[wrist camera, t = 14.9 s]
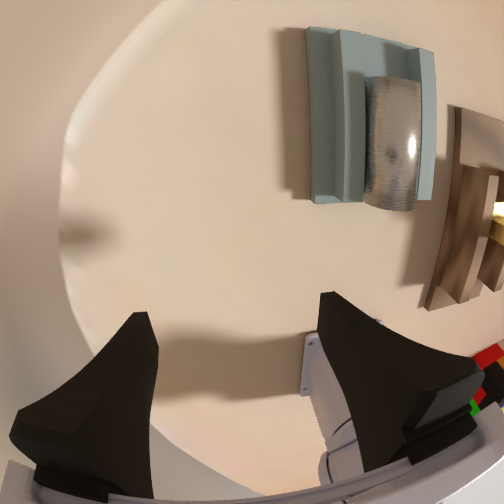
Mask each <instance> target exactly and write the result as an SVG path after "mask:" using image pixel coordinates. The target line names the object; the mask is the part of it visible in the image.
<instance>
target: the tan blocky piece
mask: <svg viewBox="0 0 504 504" xmlns="http://www.w3.org/2000/svg"><path fill="white" fill-rule="evenodd" d="M489 237H491V238H492V239H494V240H495V241H497V242H498V243H500V244H501V245H503V246H504V199H503V198H500V197H498V196H496V201H495V207H494V212H493V217H492V222H491V227H490V231H489Z"/></svg>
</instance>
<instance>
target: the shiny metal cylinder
mask: <svg viewBox="0 0 504 504" xmlns="http://www.w3.org/2000/svg"><path fill="white" fill-rule="evenodd" d="M365 105H366V148H365V177H364V194H363V200H364V202H365V203H367V204H369V205H371V206H374V207H377V208H381V209H385V210H392V211H409V210H412V209H414V208H415V202H416V193H417V184H418V173H419V159H420V139H421V90H420V83H418V82H416V81H413V80H408V79H403V78H397V77H386V76H372V77H366V78H365Z"/></svg>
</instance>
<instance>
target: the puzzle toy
mask: <svg viewBox="0 0 504 504" xmlns="http://www.w3.org/2000/svg"><path fill="white" fill-rule="evenodd" d="M473 359H474V360H475V361H476V363H477V364H478V365H479V366H480V368H481V369H482V370H483V372H484V374H485V377H484V380H483V383H482V385H481V386H480V388H479V389H478V391H477V392H476V394H475V395H474V396H473V398H472V399H471V401H470V402H469V403H470V405H471V406H472V411H471V412H470V414H471V415H472V417H474V416H475V415H476V414H477V413H479V412H480V411H481V410H483V409H484V408H486V407H487V406H489V405H490V404H492V403H493V402H496V403H497V404H498V405H499V407H500V408H501V410H502V411H503V410H504V339H503V340H501V341H499V342H497V343H496V344H494V345H492V346H490V347H488V348H487V349H485V350H483V351H481V352H479V353H477V354H475V355H474V357H473Z"/></svg>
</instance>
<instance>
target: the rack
mask: <svg viewBox="0 0 504 504" xmlns="http://www.w3.org/2000/svg"><path fill="white" fill-rule="evenodd" d="M305 36H306V49H307V63H308V80H309V102H310V135H311V201H312V202H313V203H315V204H327V203H352V202H364V200H363V194H364V177H365V148H366V105H365V78H366V77H372V76H386V77H397V78H403V79H408V80H413V81H416V82H418V83H420V90H421V139H420V159H419V173H418V184H417V193H416V200H431V196H432V188H433V178H434V167H435V154H436V132H437V96H436V75H435V62H434V52H431V51H428V50H425V49H422V48H416V47H413V46H409V45H406V44H402V43H399V42H395V41H391V40H387V39H383V38H379V37H374V36H370V35H365V34H361V33H359V32H354V31H348V30H342V29H339V30H336V29H329V28H321V27H312V26H309V27H308V28H307V29H306V30H305Z"/></svg>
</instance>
